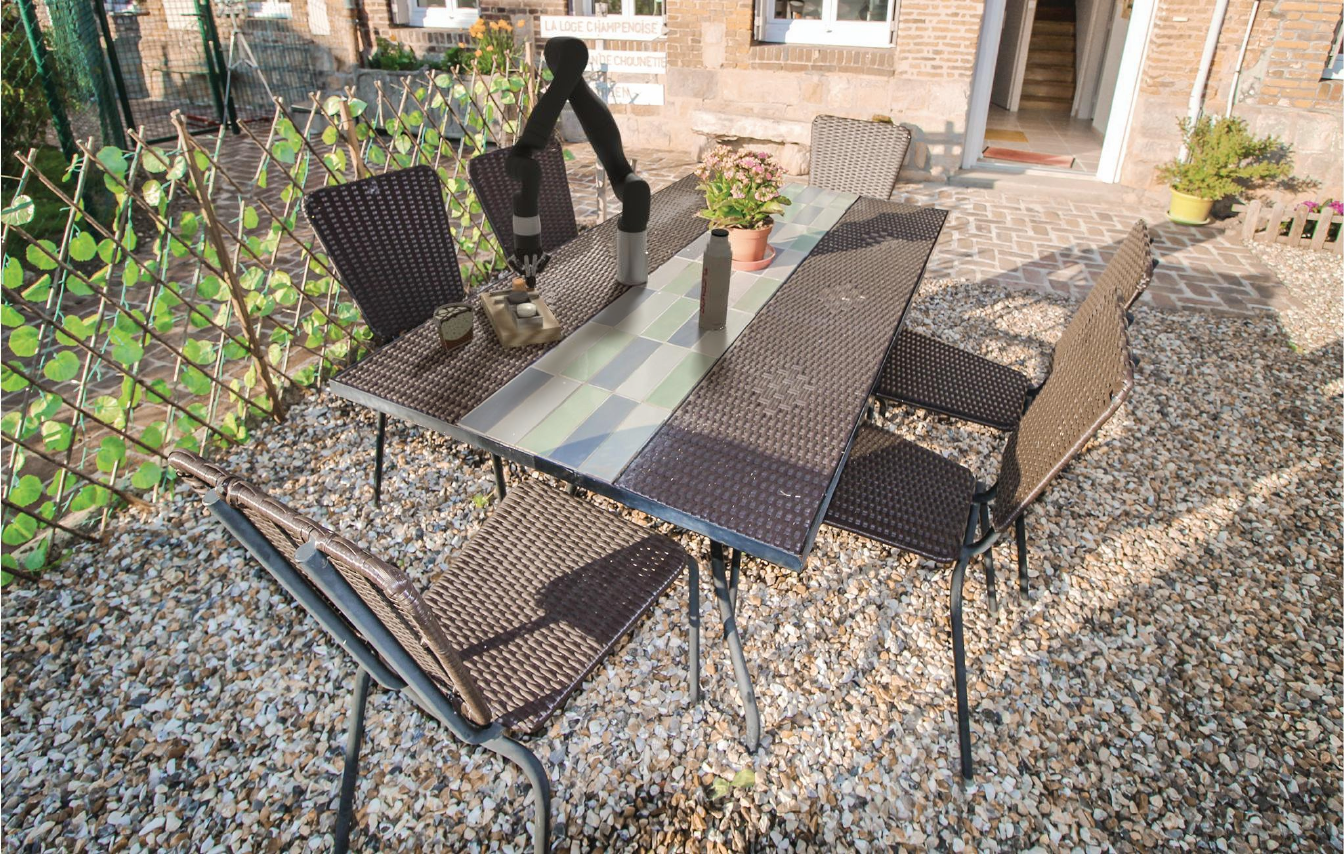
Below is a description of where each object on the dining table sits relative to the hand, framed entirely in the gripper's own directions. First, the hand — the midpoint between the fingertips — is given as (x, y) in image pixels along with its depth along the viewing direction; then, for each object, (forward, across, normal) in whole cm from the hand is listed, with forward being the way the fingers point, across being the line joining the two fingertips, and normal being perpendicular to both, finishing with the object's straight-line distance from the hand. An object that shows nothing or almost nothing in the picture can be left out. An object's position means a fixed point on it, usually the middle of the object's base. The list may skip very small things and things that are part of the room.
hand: (530, 287), depth 217 cm
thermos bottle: (+6, -46, +28) cm, 54 cm away
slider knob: (+2, +3, 0) cm, 4 cm away
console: (+6, +6, +9) cm, 12 cm away
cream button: (-1, +6, +18) cm, 19 cm away
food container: (+6, +26, +15) cm, 31 cm away
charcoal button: (-1, +6, +9) cm, 11 cm away
